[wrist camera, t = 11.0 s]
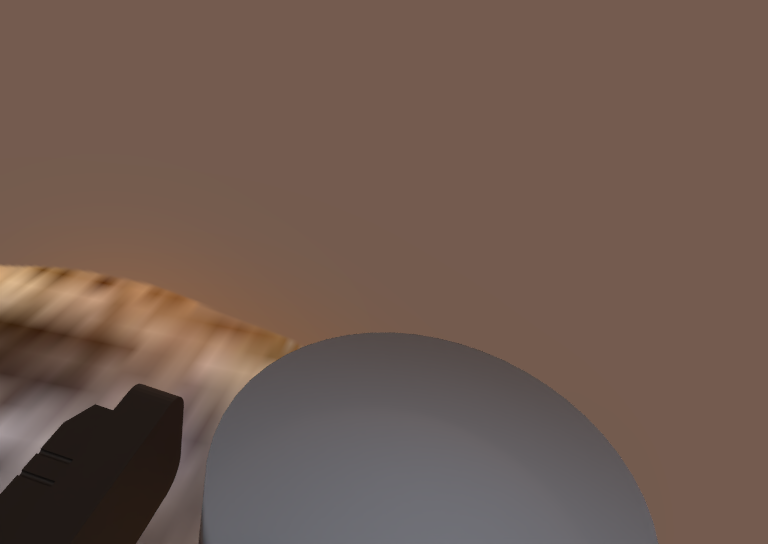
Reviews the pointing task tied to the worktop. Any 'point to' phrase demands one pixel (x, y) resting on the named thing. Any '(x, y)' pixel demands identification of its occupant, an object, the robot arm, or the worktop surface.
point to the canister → (412, 454)
